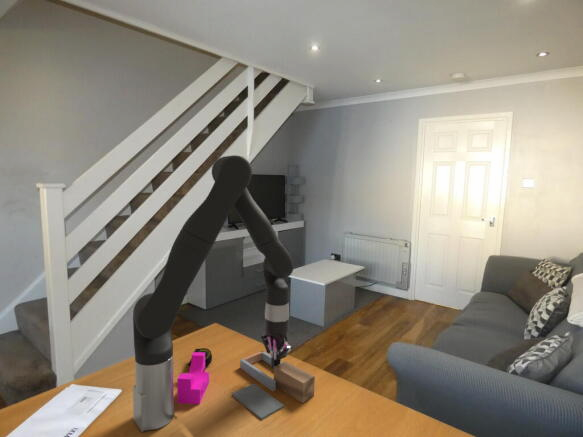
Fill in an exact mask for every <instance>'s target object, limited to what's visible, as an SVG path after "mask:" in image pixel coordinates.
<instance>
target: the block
mask: <svg viewBox="0 0 583 437" xmlns="http://www.w3.org/2000/svg"><path fill="white" fill-rule="evenodd" d="M315 378H316V376H315V375H313V374H311V373H309V372H308V371H306V370H303V369H301V368H300V367H298V366H296V365H294V364H293V363H291V362H289V361H287V360H285V361H283V362H282V363H281V364H279V365H277V366H275V367H274V369H273V379H274V380H275V381H276V388H278V389H280V391H283V392H284V393H285V394H287V395H289V396H291V397H292V398H294V399H296V400H297V401H298V402H300V403H301V404H304V403H305V402H306V401H308V400H310V399H311V398H313V397H314V396H315Z"/></svg>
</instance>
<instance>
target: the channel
mask: <svg viewBox="0 0 583 437" xmlns="http://www.w3.org/2000/svg"><path fill="white" fill-rule="evenodd" d="M261 361H263V362H265V363H267V365H270V366H271V356H270V354H269V353H267V351H264V350H260V351H259V352H256V353H253V354H251V355H248V356H246V357H244V358H241V359H240V361H239V364H240V365H239V366H240V369H241V370H243V371H244V372H245V373H247V374H248V375H249V376H250V377H252V378H254V379H255V380H256V381H257V382H259V383H260V384H262V385H263V386H264V387H265V388H267V389H268V390H270V391H271V392H275V391H277V390H276V388H277V387H276V381H275V380H274V378H272V377H271V376H269V375H267V374H266V373H265V372H264V371H262V370H260V369H259V368H257V367H256V366H254V365H253V364H256V363H258V362H261ZM281 363H283V362H282V361H280V364H281Z"/></svg>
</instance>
